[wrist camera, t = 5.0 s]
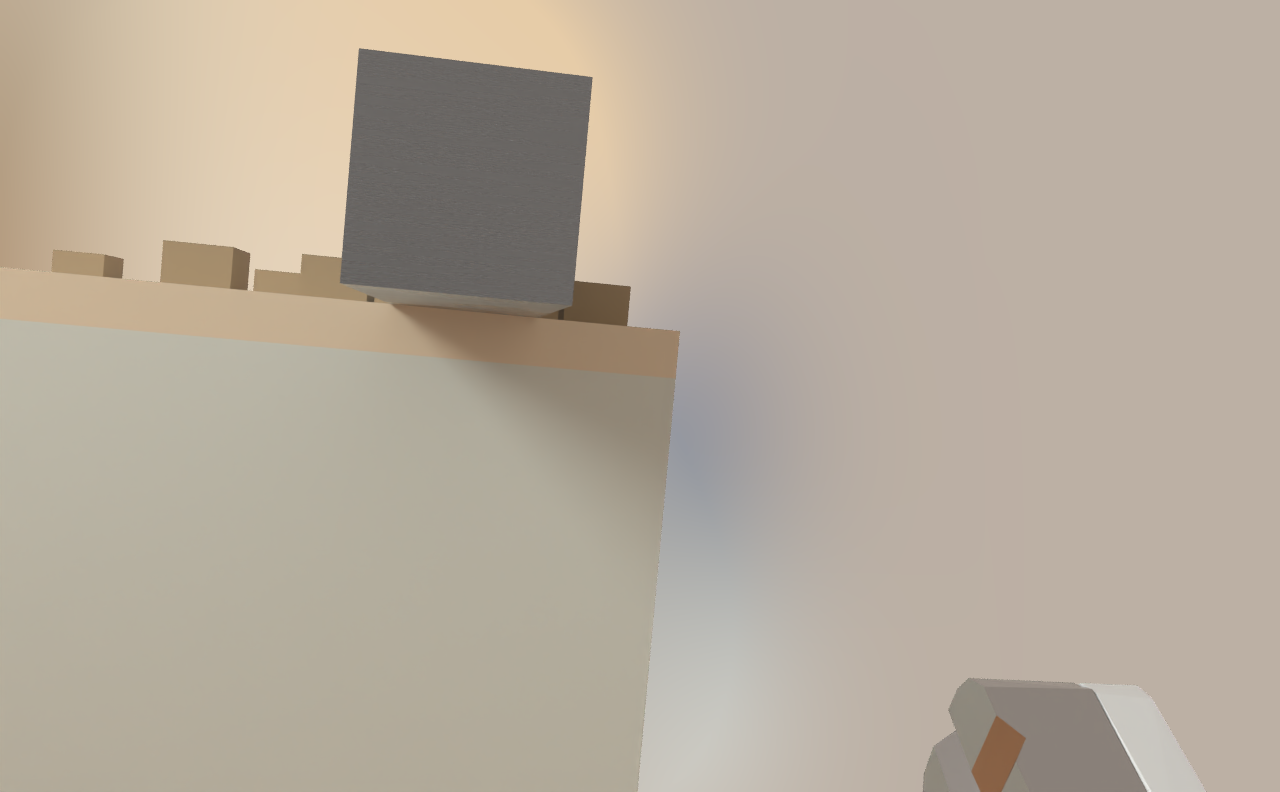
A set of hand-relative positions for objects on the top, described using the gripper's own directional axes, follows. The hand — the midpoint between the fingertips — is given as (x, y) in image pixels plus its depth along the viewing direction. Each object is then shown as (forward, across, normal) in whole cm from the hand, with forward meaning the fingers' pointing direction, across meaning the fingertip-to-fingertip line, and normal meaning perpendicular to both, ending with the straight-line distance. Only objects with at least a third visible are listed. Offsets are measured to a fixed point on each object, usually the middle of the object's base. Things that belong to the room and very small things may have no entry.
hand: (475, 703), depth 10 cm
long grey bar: (+19, 0, -7) cm, 20 cm away
